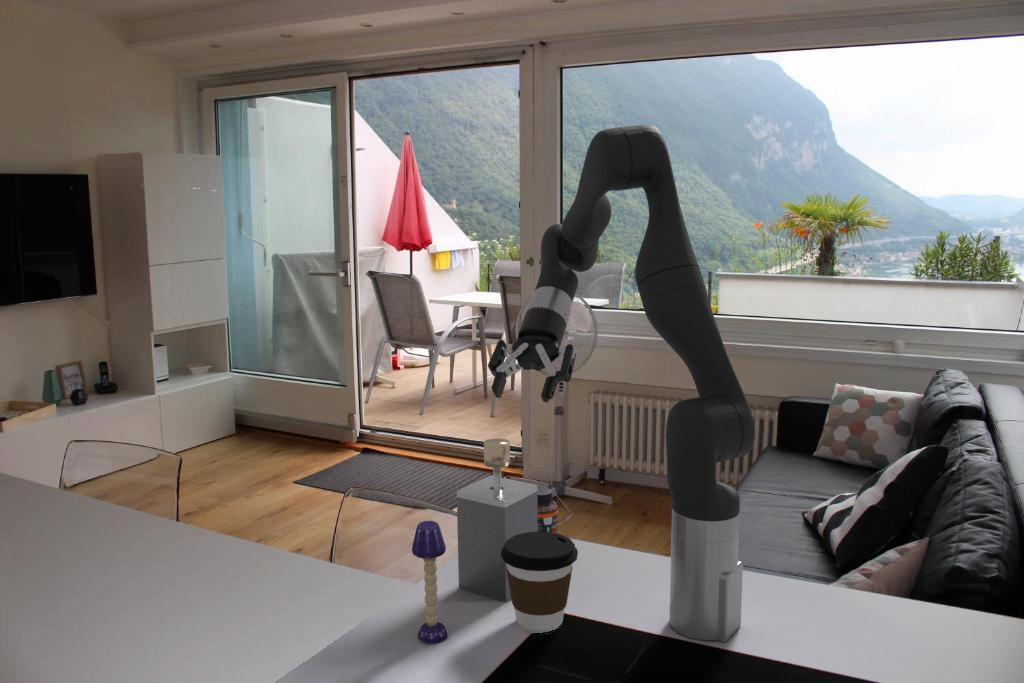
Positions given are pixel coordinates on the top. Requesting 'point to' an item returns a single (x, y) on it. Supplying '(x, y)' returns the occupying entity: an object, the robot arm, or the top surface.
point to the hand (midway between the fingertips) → (520, 397)
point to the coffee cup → (539, 578)
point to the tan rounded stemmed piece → (497, 457)
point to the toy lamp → (430, 578)
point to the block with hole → (491, 532)
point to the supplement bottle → (547, 511)
